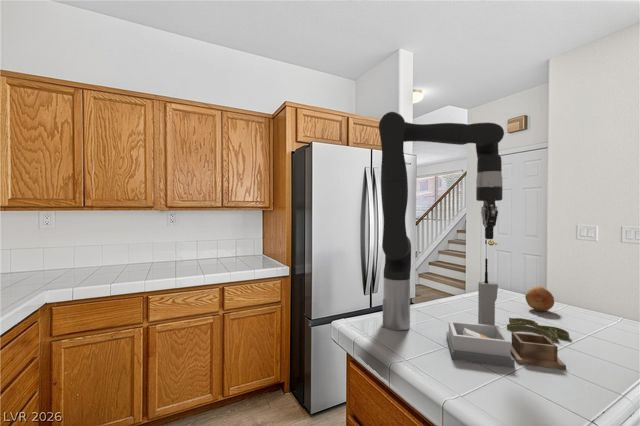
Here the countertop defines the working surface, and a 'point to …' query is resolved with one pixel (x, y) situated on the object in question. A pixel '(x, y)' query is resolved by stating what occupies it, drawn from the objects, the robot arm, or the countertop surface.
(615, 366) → the countertop surface
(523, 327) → the cookie cutter
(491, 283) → the vintage mobile phone
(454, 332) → the box
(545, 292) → the onion
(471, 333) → the plate
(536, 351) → the stand
